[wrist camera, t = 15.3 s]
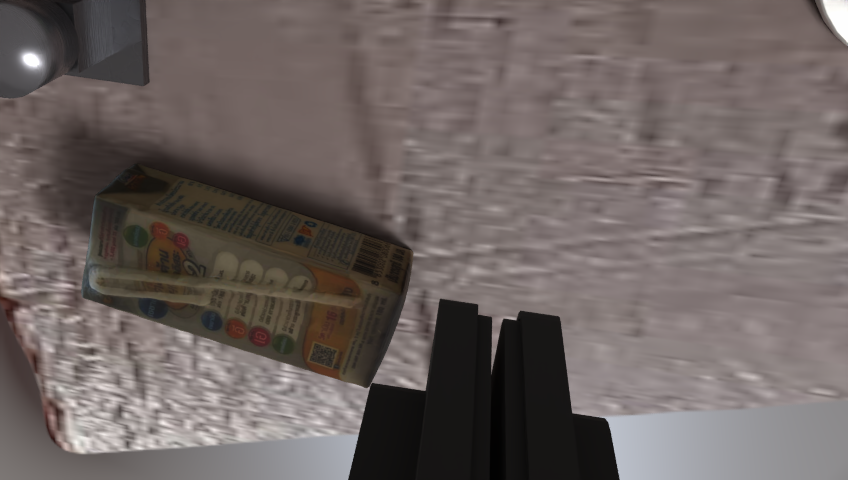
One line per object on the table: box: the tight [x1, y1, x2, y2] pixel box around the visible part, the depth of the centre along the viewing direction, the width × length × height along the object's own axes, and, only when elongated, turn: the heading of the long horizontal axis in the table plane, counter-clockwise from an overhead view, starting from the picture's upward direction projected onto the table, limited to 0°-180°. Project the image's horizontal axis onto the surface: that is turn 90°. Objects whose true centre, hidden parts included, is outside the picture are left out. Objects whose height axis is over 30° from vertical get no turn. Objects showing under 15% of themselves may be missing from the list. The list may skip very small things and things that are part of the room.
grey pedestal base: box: [51, 0, 149, 86], centre depth 42 cm, size 7×7×5 cm
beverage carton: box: [81, 164, 413, 388], centre depth 48 cm, size 8×19×7 cm, turn 73°
